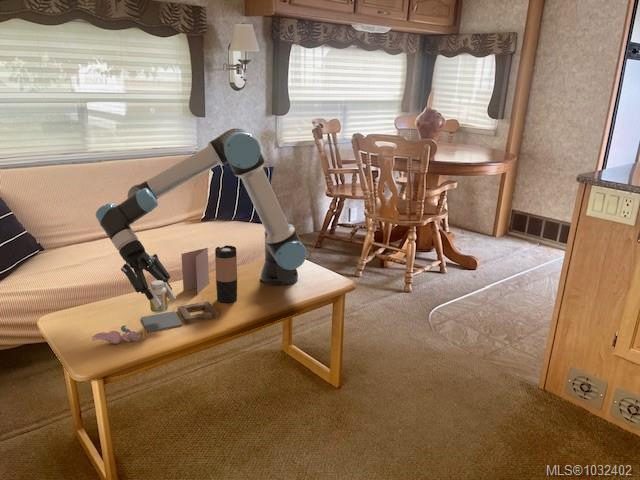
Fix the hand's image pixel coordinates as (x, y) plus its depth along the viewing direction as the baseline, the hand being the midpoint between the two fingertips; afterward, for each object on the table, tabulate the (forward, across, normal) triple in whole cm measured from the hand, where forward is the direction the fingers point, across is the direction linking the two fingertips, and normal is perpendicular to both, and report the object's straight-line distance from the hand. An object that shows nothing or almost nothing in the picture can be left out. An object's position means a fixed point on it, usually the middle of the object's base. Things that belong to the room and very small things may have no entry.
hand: (166, 303), depth 167 cm
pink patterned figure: (+3, +16, -8) cm, 19 cm away
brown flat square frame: (+7, -12, -4) cm, 14 cm away
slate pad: (+3, 0, -8) cm, 9 cm away
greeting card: (-3, -28, -15) cm, 32 cm away
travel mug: (+7, -26, -4) cm, 28 cm away
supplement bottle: (0, 0, -5) cm, 5 cm away
